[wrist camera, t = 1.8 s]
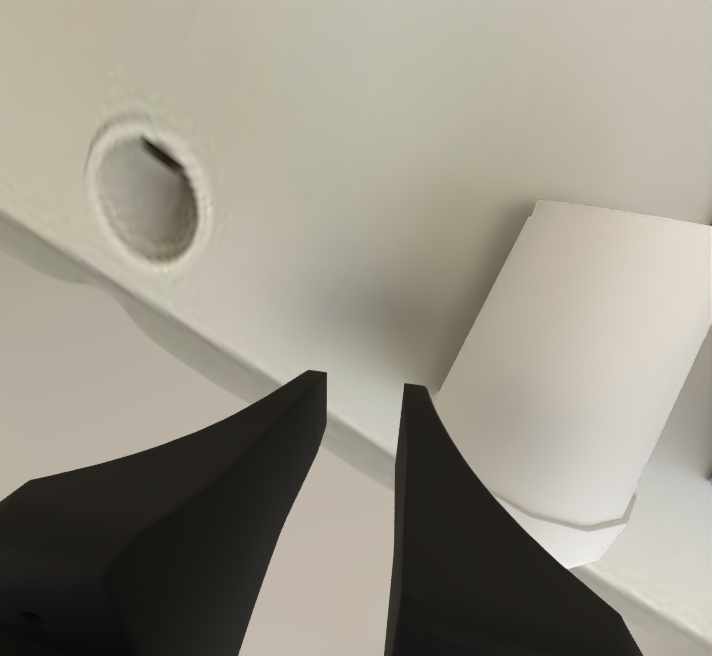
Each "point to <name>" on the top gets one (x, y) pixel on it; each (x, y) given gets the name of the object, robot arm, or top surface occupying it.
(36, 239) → the top surface
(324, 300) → the top surface
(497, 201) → the top surface
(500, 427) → the foam cup
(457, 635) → the robot arm
